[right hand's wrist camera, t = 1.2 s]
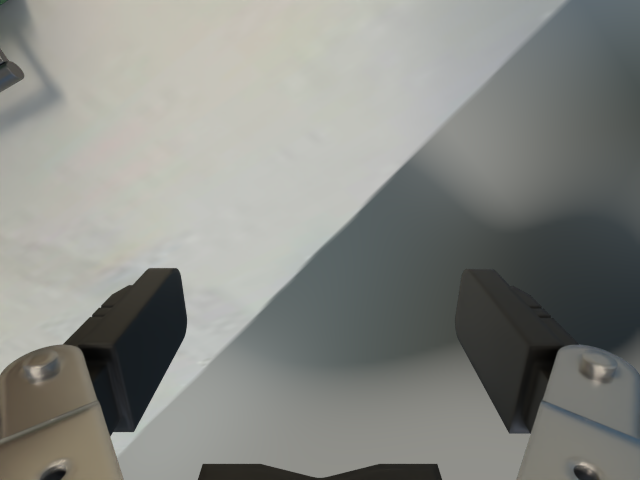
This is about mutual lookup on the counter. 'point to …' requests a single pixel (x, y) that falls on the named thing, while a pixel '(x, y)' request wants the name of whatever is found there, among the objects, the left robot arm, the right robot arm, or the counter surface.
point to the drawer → (8, 70)
